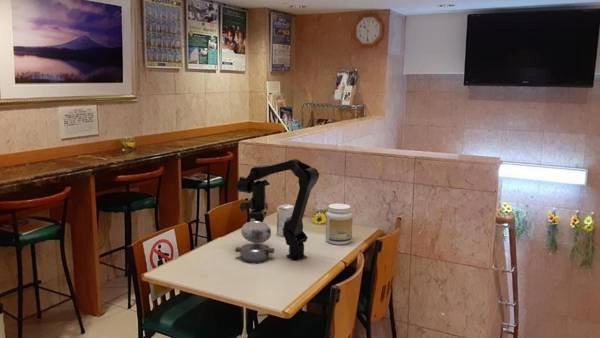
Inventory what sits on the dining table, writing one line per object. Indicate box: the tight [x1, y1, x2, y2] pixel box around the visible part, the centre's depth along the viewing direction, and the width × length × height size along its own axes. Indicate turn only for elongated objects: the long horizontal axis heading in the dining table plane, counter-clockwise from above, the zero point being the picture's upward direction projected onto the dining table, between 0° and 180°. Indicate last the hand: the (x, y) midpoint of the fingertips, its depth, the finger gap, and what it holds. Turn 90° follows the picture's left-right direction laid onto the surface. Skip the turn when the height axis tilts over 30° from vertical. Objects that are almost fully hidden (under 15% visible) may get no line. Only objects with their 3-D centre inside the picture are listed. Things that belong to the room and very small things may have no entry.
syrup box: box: [276, 203, 295, 238], centre depth 240 cm, size 6×6×14 cm
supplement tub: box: [325, 203, 353, 246], centre depth 231 cm, size 12×12×17 cm
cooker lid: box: [240, 220, 272, 244], centre depth 211 cm, size 13×13×3 cm
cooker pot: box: [235, 242, 275, 264], centre depth 209 cm, size 13×14×4 cm
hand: (258, 229), depth 219 cm, fingers closed
